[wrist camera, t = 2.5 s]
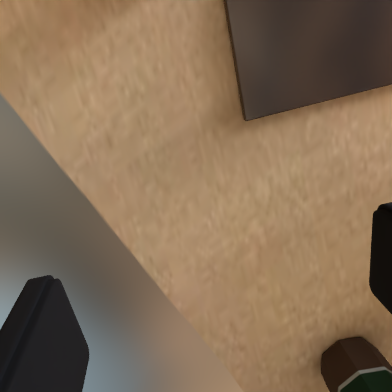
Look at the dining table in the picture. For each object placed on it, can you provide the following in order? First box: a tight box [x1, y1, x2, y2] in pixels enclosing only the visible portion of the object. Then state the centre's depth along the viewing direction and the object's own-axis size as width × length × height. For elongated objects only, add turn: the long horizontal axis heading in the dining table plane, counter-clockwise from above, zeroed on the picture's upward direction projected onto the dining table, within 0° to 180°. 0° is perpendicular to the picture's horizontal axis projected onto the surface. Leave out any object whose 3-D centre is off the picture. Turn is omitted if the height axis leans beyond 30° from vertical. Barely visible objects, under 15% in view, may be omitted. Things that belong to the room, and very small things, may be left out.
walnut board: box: [224, 0, 392, 121], centre depth 27 cm, size 22×10×1 cm, turn 103°
